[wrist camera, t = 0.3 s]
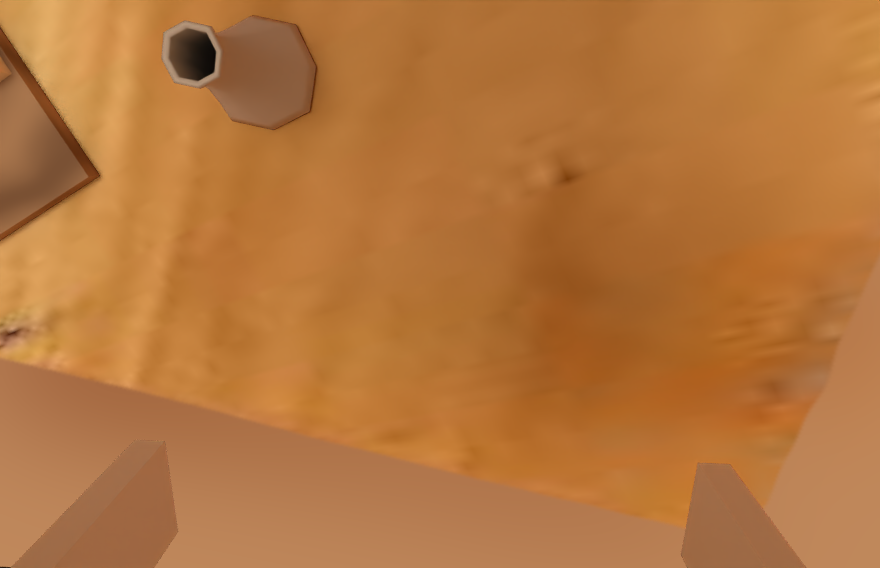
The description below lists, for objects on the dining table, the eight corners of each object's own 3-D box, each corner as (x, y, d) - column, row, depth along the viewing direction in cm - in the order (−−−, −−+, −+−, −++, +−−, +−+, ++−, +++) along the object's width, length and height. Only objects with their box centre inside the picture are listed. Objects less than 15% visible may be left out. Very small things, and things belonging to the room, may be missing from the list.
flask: (326, 123, 39) (273, 120, 29) (224, 136, 40) (140, 136, 30) (308, 8, 37) (246, -36, 27) (202, 23, 38) (105, -15, 28)
